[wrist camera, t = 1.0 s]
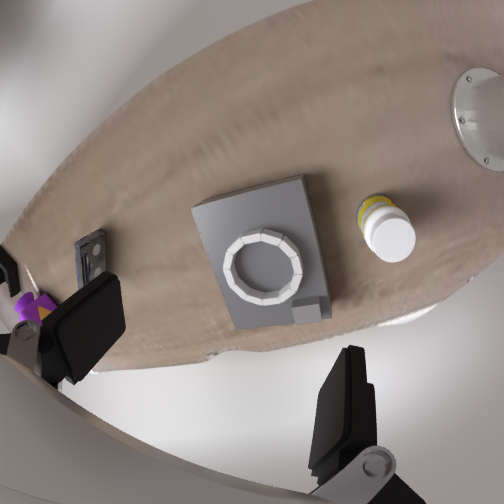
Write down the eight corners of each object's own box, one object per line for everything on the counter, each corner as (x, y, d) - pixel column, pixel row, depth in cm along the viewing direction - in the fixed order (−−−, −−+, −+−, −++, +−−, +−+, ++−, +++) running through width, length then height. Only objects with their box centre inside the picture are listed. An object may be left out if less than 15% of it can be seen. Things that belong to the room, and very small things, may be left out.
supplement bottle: (401, 224, 28) (426, 254, 21) (365, 241, 30) (379, 275, 22) (386, 186, 27) (409, 204, 20) (348, 204, 29) (359, 228, 21)
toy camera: (33, 277, 48) (4, 297, 39) (72, 313, 49) (42, 339, 40) (35, 306, 53) (10, 327, 44) (71, 340, 53) (46, 365, 45)
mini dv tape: (99, 228, 38) (72, 243, 33) (106, 231, 38) (79, 246, 32) (99, 273, 42) (77, 291, 36) (106, 276, 41) (83, 294, 36)
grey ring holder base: (302, 174, 29) (300, 181, 24) (331, 301, 34) (332, 325, 29) (202, 200, 32) (184, 211, 28) (242, 313, 38) (232, 336, 33)
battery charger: (-1, 266, 54) (-11, 272, 50) (-5, 239, 49) (-15, 245, 46) (21, 291, 54) (11, 298, 50) (18, 263, 49) (7, 270, 46)
